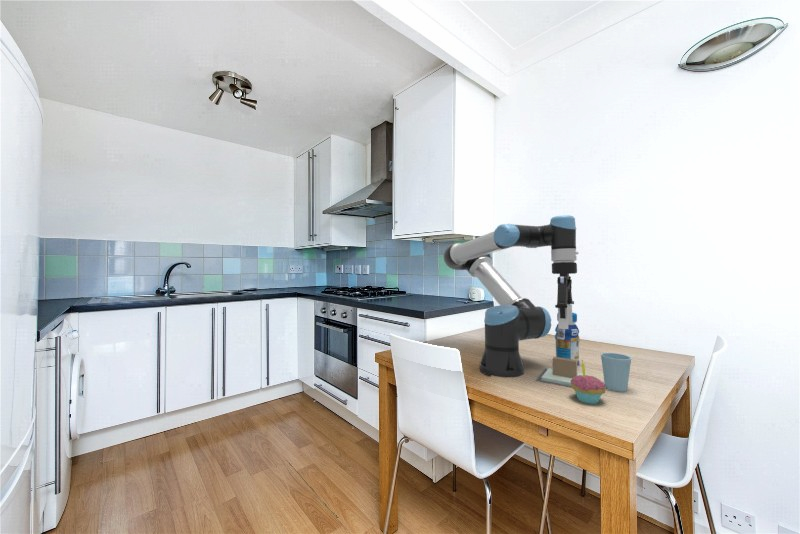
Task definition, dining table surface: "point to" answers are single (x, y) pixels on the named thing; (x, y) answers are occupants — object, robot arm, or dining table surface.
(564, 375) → the lid
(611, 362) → the cup
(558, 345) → the beverage bottle
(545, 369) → the mat
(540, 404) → the dining table surface
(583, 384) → the cupcake
